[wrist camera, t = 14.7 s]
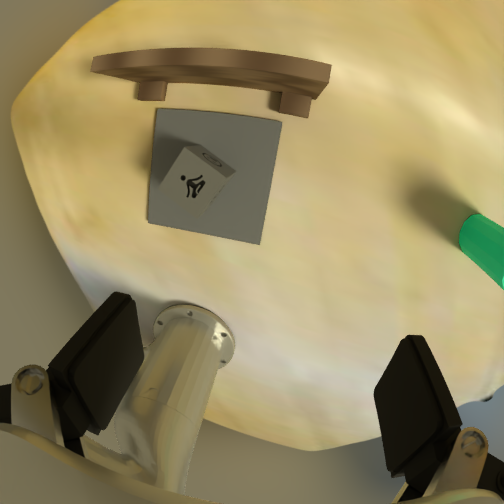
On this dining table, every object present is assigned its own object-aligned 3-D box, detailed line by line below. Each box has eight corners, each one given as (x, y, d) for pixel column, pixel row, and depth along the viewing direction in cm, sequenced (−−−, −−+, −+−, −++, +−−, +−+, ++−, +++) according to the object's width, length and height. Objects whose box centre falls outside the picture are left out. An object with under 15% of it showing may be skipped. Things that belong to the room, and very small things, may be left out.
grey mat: (260, 243, 33) (259, 244, 32) (149, 221, 34) (148, 223, 33) (282, 122, 27) (282, 122, 27) (159, 108, 28) (157, 108, 27)
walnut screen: (321, 68, 24) (335, 39, 15) (312, 119, 27) (323, 111, 18) (147, 55, 25) (98, 35, 16) (138, 100, 28) (86, 95, 18)
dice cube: (210, 206, 31) (197, 219, 27) (176, 180, 31) (157, 189, 26) (236, 171, 29) (226, 178, 25) (200, 144, 29) (184, 147, 24)
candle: (453, 253, 30) (502, 301, 19) (464, 210, 28) (521, 246, 17) (482, 257, 29) (529, 301, 18) (493, 217, 27) (548, 252, 16)
